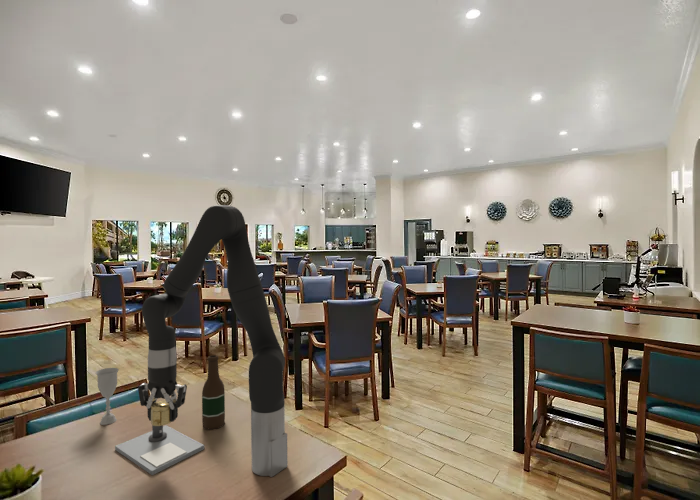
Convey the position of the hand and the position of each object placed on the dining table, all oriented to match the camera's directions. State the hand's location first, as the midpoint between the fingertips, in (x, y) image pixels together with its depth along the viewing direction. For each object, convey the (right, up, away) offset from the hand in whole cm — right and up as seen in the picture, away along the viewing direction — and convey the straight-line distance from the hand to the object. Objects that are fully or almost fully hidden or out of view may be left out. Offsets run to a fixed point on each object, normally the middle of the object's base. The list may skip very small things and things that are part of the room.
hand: (162, 419), depth 110 cm
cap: (0, 0, 0) cm, 0 cm away
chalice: (-31, -11, +24) cm, 41 cm away
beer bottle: (+7, -11, +21) cm, 25 cm away
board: (-4, -12, +5) cm, 13 cm away
